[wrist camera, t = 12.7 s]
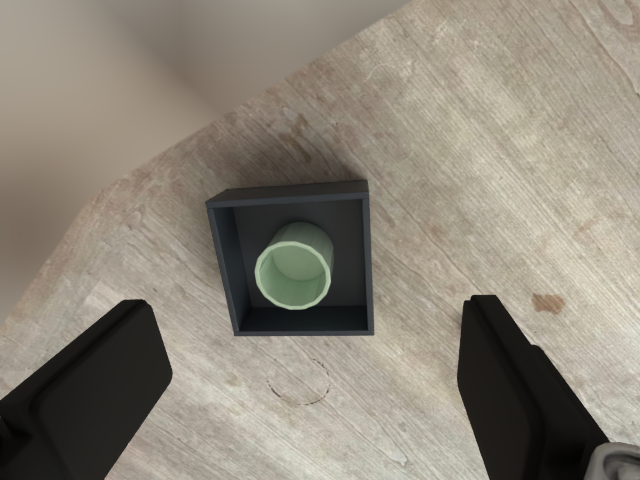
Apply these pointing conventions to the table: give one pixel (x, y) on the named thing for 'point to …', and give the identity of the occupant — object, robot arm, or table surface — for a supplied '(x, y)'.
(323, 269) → the green tumbler
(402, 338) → the table surface
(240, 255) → the dish tub
